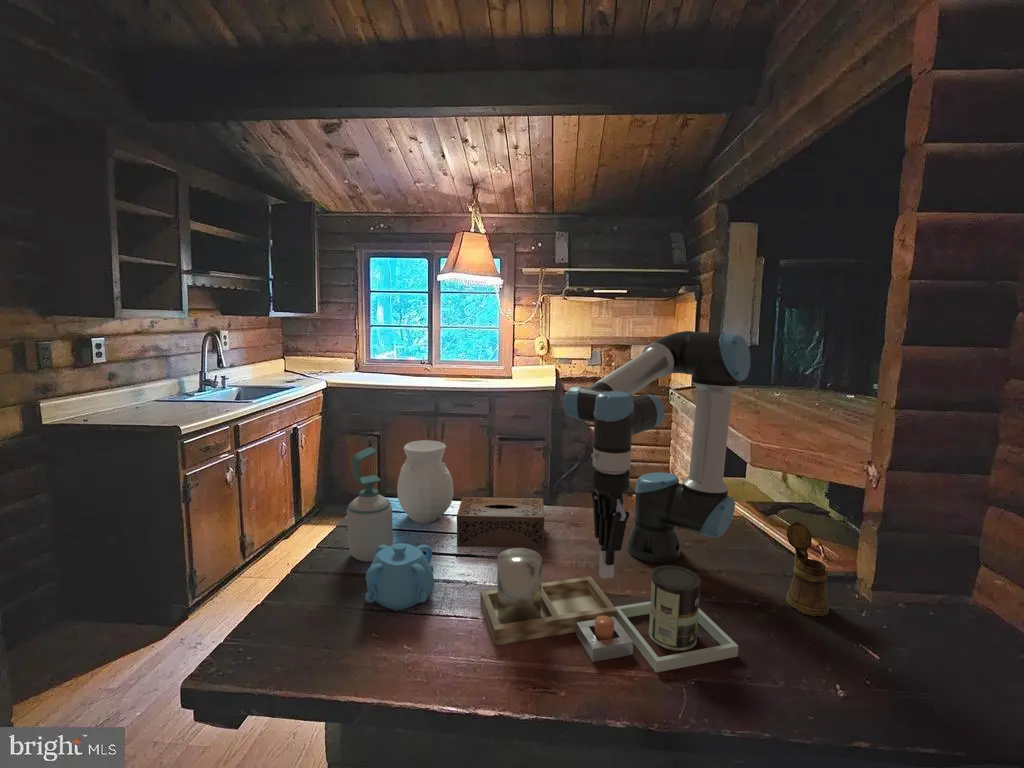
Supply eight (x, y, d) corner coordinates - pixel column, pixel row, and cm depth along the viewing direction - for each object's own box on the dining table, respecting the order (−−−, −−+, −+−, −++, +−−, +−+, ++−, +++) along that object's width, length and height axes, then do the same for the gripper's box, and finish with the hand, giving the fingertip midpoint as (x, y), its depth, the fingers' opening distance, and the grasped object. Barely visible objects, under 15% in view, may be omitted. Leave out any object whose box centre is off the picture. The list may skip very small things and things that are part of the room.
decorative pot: (441, 581, 138) (440, 532, 135) (425, 618, 122) (424, 564, 120) (380, 578, 139) (378, 529, 137) (357, 614, 123) (354, 560, 121)
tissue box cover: (456, 547, 157) (456, 515, 155) (462, 526, 171) (462, 496, 169) (543, 549, 156) (544, 517, 154) (542, 527, 170) (542, 498, 169)
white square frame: (685, 605, 128) (685, 595, 128) (737, 656, 110) (738, 645, 110) (613, 616, 123) (614, 607, 123) (655, 672, 105) (656, 661, 105)
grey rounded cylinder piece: (533, 599, 128) (534, 545, 125) (546, 624, 118) (547, 566, 116) (492, 605, 125) (493, 550, 123) (503, 631, 116) (503, 572, 113)
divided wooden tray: (590, 589, 134) (590, 576, 134) (616, 625, 120) (617, 610, 119) (480, 605, 127) (480, 591, 126) (494, 645, 113) (494, 629, 112)
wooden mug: (806, 586, 137) (813, 520, 134) (836, 617, 124) (845, 546, 121) (771, 585, 137) (778, 520, 134) (797, 616, 124) (805, 545, 121)
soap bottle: (400, 557, 150) (396, 451, 144) (356, 569, 143) (352, 459, 138) (384, 540, 160) (380, 441, 155) (343, 551, 153) (338, 447, 148)
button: (608, 631, 116) (609, 614, 115) (616, 642, 112) (617, 625, 111) (591, 633, 114) (592, 617, 114) (599, 645, 111) (599, 628, 110)
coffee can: (693, 624, 120) (697, 567, 118) (699, 654, 111) (704, 592, 108) (646, 618, 123) (650, 562, 120) (649, 647, 113) (652, 586, 110)
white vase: (428, 534, 164) (427, 457, 160) (386, 520, 174) (383, 447, 170) (465, 513, 180) (464, 442, 176) (424, 502, 190) (422, 434, 185)
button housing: (613, 628, 119) (613, 616, 118) (632, 654, 110) (633, 641, 110) (576, 634, 116) (576, 622, 116) (592, 662, 108) (593, 648, 107)
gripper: (581, 460, 112) (577, 563, 116) (608, 480, 99) (602, 595, 103) (613, 457, 114) (609, 559, 118) (643, 477, 101) (637, 590, 105)
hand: (606, 576), depth 111 cm, fingers closed
